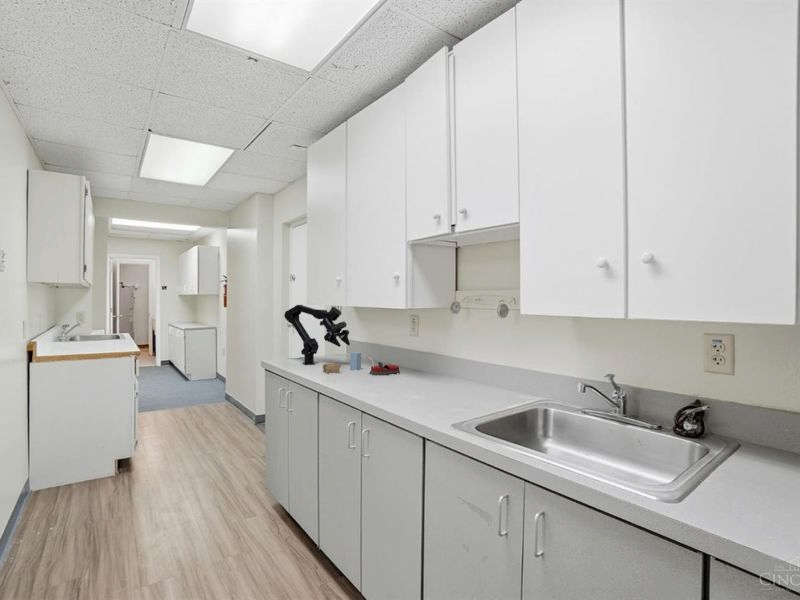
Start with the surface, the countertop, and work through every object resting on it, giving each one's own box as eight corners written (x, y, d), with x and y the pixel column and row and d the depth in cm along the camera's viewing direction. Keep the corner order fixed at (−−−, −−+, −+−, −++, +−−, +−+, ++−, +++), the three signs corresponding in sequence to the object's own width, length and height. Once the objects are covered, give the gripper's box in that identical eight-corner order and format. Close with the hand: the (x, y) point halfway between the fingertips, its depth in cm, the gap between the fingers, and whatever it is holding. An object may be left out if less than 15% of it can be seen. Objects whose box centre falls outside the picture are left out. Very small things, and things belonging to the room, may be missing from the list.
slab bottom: (323, 372, 237) (323, 368, 237) (335, 372, 240) (335, 367, 240) (326, 374, 231) (327, 370, 231) (339, 374, 234) (339, 369, 234)
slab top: (322, 368, 236) (322, 363, 236) (333, 367, 240) (333, 363, 240) (328, 370, 231) (328, 365, 231) (339, 369, 235) (340, 364, 235)
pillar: (350, 369, 245) (350, 352, 245) (354, 368, 249) (354, 352, 249) (356, 370, 243) (356, 353, 243) (360, 369, 247) (361, 352, 247)
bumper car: (402, 374, 236) (403, 356, 236) (370, 376, 227) (370, 358, 227) (394, 371, 245) (395, 354, 245) (362, 373, 235) (363, 355, 235)
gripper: (328, 317, 244) (343, 337, 239) (347, 316, 261) (361, 335, 255) (317, 330, 248) (332, 350, 243) (336, 328, 264) (350, 347, 259)
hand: (344, 345), depth 250 cm, fingers open, 9 cm apart
